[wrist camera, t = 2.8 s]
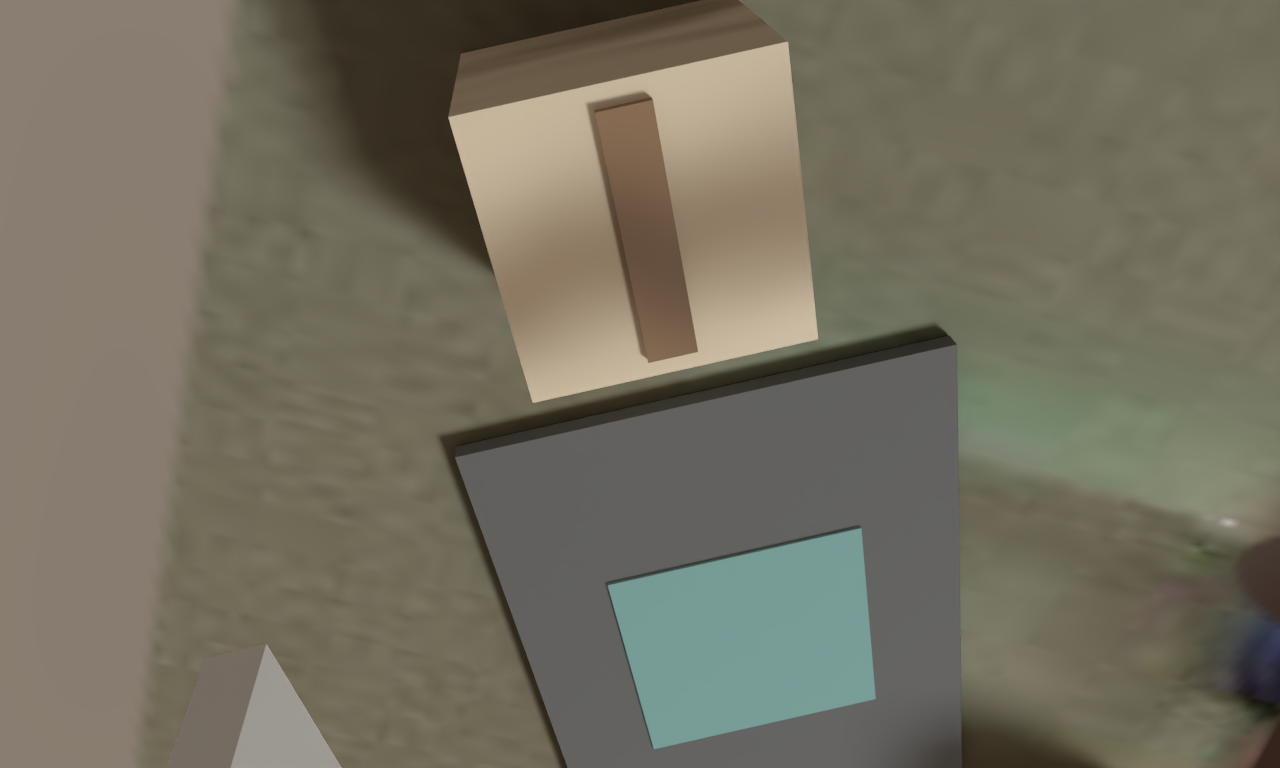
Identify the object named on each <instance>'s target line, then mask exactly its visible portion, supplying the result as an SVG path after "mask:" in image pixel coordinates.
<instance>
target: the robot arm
mask: <svg viewBox="0 0 1280 768" xmlns="http://www.w3.org/2000/svg"><path fill="white" fill-rule="evenodd" d="M167 768H341V766H340V765H339V763H338V761H337V760H336V758H335V756H334V755H333V753H332V751H331V750H330V748H329V746H328V745H327V743H326V741H325V740H324V738H323V737H322V735H321V733H320V732H319V730H318V728H317V727H316V725H315V723H314V722H313V720H312V718H311V717H310V715H309V713H308V712H307V710H306V708H305V707H304V705H303V703H302V702H301V700H300V699H299V697H298V695H297V694H296V692H295V690H294V689H293V687H292V685H291V684H290V682H289V680H288V679H287V677H286V675H285V674H284V672H283V670H282V669H281V667H280V665H279V664H278V662H277V661H276V659H275V657H274V656H273V654H272V652H271V651H270V649H269V647H268V646H267V644H263V645H259V646H255V647H251V648H247V649H243V650H239V651H235V652H230V653H226V654H222V655H218V656H214V657H210V658H206V659H205V661H204V663H203V666H202V669H201V672H200V675H199V678H198V680H197V683H196V686H195V689H194V692H193V694H192V697H191V700H190V703H189V706H188V709H187V711H186V714H185V717H184V720H183V723H182V725H181V728H180V731H179V734H178V737H177V740H176V742H175V745H174V748H173V751H172V754H171V756H170V759H169V762H168V765H167Z"/></svg>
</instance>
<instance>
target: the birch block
mask: <svg viewBox="0 0 1280 768" xmlns="http://www.w3.org/2000/svg"><path fill="white" fill-rule="evenodd" d="M448 118H449V122H450V125H451V128H452V132H453V135H454V139H455V142H456V145H457V149H458V152H459V155H460V159H461V162H462V165H463V169H464V172H465V176H466V179H467V182H468V186H469V189H470V192H471V196H472V199H473V203H474V206H475V209H476V213H477V216H478V219H479V223H480V226H481V230H482V233H483V236H484V240H485V243H486V246H487V250H488V253H489V257H490V260H491V263H492V267H493V270H494V273H495V277H496V280H497V284H498V287H499V290H500V294H501V297H502V300H503V304H504V307H505V311H506V314H507V317H508V321H509V324H510V327H511V331H512V334H513V338H514V341H515V344H516V348H517V351H518V354H519V358H520V361H521V365H522V368H523V371H524V375H525V378H526V381H527V385H528V388H529V392H530V395H531V398H532V402H533V403H535V402H539V401H544V400H548V399H553V398H557V397H562V396H566V395H571V394H575V393H580V392H584V391H589V390H593V389H598V388H602V387H607V386H611V385H616V384H620V383H625V382H629V381H633V380H638V379H642V378H647V377H651V376H656V375H660V374H665V373H669V372H674V371H678V370H683V369H687V368H692V367H696V366H701V365H705V364H710V363H714V362H719V361H723V360H728V359H732V358H736V357H741V356H745V355H750V354H754V353H759V352H763V351H768V350H772V349H777V348H781V347H786V346H790V345H795V344H799V343H804V342H808V341H813V340H817V339H818V333H817V323H816V313H815V303H814V294H813V284H812V274H811V264H810V254H809V244H808V235H807V225H806V215H805V205H804V195H803V185H802V175H801V166H800V156H799V146H798V136H797V126H796V116H795V107H794V97H793V87H792V77H791V67H790V57H789V47H788V41H787V40H785V39H784V38H783V37H782V36H781V35H780V34H778V33H777V32H776V31H775V30H774V29H772V28H771V27H770V26H769V25H768V24H766V23H765V22H764V21H763V20H762V19H760V18H759V17H758V16H757V15H756V14H754V13H753V12H752V11H751V10H750V9H748V8H747V7H746V6H745V5H744V4H742V3H741V2H740V1H739V0H699V1H695V2H690V3H686V4H681V5H677V6H673V7H668V8H664V9H659V10H655V11H650V12H646V13H641V14H637V15H632V16H628V17H623V18H619V19H614V20H610V21H605V22H601V23H596V24H592V25H587V26H583V27H578V28H574V29H569V30H565V31H560V32H556V33H551V34H547V35H542V36H538V37H534V38H529V39H525V40H520V41H516V42H511V43H507V44H502V45H498V46H493V47H489V48H484V49H480V50H475V51H471V52H466V53H462V54H461V56H460V61H459V66H458V71H457V76H456V81H455V86H454V91H453V96H452V101H451V106H450V111H449V116H448Z"/></svg>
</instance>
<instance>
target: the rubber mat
mask: <svg viewBox="0 0 1280 768" xmlns="http://www.w3.org/2000/svg"><path fill="white" fill-rule="evenodd" d="M455 459H456V462H457V465H458V467H459V470H460V473H461V476H462V478H463V481H464V484H465V487H466V489H467V492H468V495H469V498H470V500H471V503H472V506H473V509H474V511H475V514H476V517H477V520H478V522H479V525H480V528H481V531H482V534H483V536H484V539H485V542H486V545H487V547H488V550H489V553H490V556H491V558H492V561H493V564H494V567H495V569H496V572H497V575H498V578H499V580H500V583H501V586H502V589H503V591H504V594H505V597H506V600H507V602H508V605H509V608H510V611H511V613H512V616H513V619H514V622H515V624H516V627H517V630H518V633H519V635H520V638H521V641H522V644H523V646H524V649H525V652H526V655H527V657H528V660H529V663H530V666H531V668H532V671H533V674H534V677H535V679H536V682H537V685H538V688H539V690H540V693H541V696H542V699H543V701H544V704H545V707H546V710H547V713H548V715H549V718H550V721H551V724H552V726H553V729H554V732H555V735H556V737H557V740H558V743H559V746H560V748H561V751H562V754H563V757H564V759H565V762H566V765H567V768H962V716H961V636H960V557H959V477H958V398H957V344H956V343H955V342H954V341H953V339H952V338H951V337H950V336H945V337H940V338H936V339H931V340H927V341H923V342H918V343H914V344H909V345H905V346H900V347H896V348H891V349H887V350H883V351H878V352H874V353H869V354H865V355H860V356H856V357H851V358H847V359H843V360H838V361H834V362H829V363H825V364H820V365H816V366H811V367H807V368H803V369H798V370H794V371H789V372H785V373H780V374H776V375H772V376H767V377H763V378H758V379H754V380H749V381H745V382H740V383H736V384H732V385H727V386H723V387H718V388H714V389H709V390H705V391H700V392H696V393H692V394H687V395H683V396H678V397H674V398H669V399H665V400H660V401H656V402H652V403H647V404H643V405H638V406H634V407H629V408H625V409H620V410H616V411H612V412H607V413H603V414H598V415H594V416H589V417H585V418H580V419H576V420H572V421H567V422H563V423H558V424H554V425H549V426H545V427H540V428H536V429H532V430H527V431H523V432H518V433H514V434H509V435H505V436H500V437H496V438H492V439H487V440H483V441H478V442H474V443H469V444H465V445H460V446H456V450H455Z"/></svg>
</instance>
